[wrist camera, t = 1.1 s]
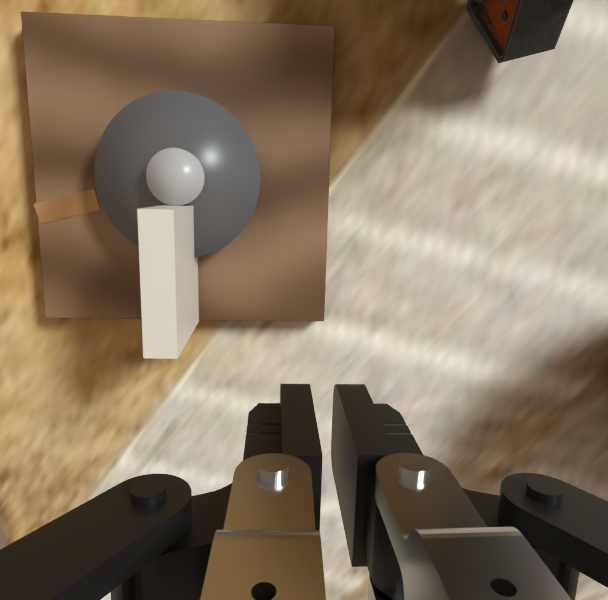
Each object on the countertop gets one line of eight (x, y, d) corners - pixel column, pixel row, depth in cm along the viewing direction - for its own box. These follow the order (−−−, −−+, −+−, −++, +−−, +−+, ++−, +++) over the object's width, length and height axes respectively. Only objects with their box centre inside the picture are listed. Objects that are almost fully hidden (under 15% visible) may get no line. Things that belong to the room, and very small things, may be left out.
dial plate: (30, 20, 29) (17, 11, 28) (331, 33, 30) (334, 25, 29) (53, 311, 33) (42, 317, 31) (321, 315, 34) (323, 321, 32)
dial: (97, 91, 28) (41, 60, 21) (261, 97, 29) (257, 69, 22) (110, 320, 31) (63, 357, 24) (259, 322, 32) (255, 359, 25)
